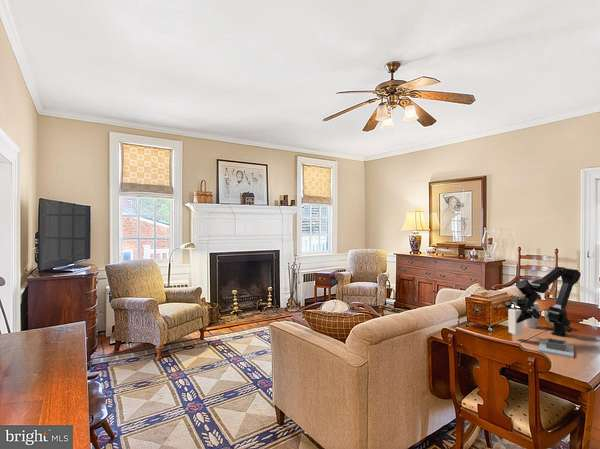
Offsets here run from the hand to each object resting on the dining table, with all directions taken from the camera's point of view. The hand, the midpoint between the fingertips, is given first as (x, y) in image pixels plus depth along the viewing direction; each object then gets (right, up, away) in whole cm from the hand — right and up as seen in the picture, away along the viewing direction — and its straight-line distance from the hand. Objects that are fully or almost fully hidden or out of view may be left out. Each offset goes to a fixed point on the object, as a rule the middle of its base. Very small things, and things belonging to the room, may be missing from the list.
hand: (513, 321), depth 192 cm
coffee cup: (+26, -10, +24) cm, 37 cm away
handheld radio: (+44, -10, +25) cm, 51 cm away
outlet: (+13, -10, -15) cm, 22 cm away
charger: (+1, -7, 0) cm, 7 cm away
